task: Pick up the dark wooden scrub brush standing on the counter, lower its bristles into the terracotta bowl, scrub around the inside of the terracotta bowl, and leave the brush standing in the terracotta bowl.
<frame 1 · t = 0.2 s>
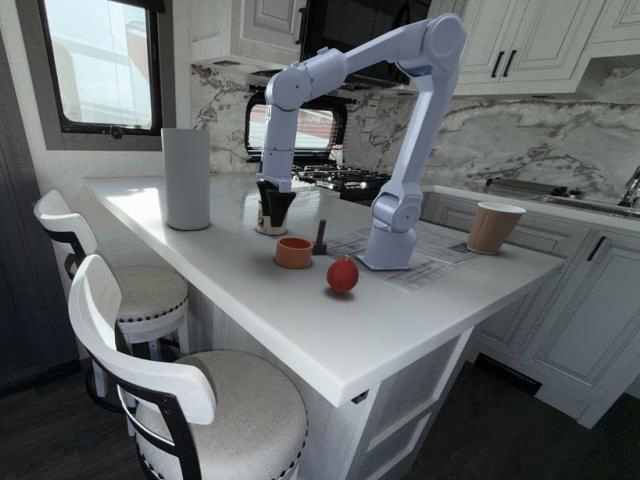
hand: (271, 221, 64), 10 cm above the worktop, tool pointing down, fingers open, 7 cm apart
teacup with lid: (271, 232, 90), on the worktop
cylinder vase: (189, 225, 92), on the worktop
coffee cup: (480, 250, 86), on the worktop
onion: (338, 293, 60), on the worktop
terracotta bowl: (292, 261, 72), on the worktop
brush: (316, 252, 77), on the worktop
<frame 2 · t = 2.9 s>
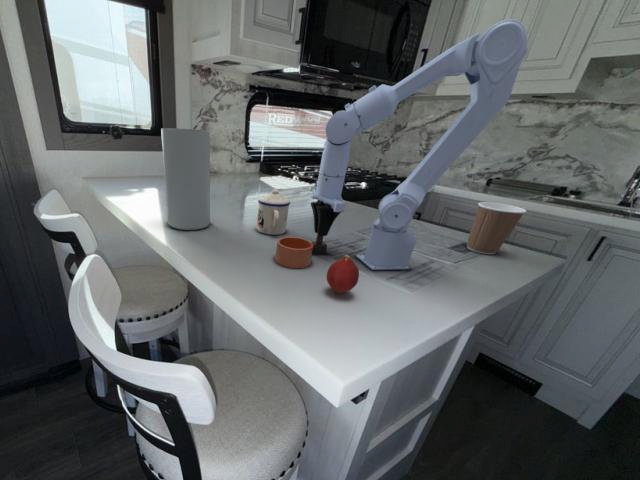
hand: (320, 234, 75), 5 cm above the worktop, tool pointing down, fingers closed on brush, 1 cm apart
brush: (316, 252, 77), on the worktop, touching gripper
everything else where it was.
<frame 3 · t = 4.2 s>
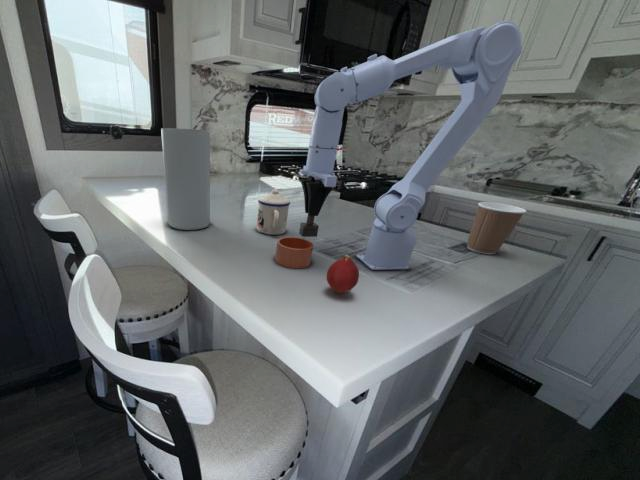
hand: (311, 214, 69), 10 cm above the worktop, tool pointing down, fingers closed on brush
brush: (307, 235, 72), point 6 cm above the worktop, touching gripper
everything else where it was.
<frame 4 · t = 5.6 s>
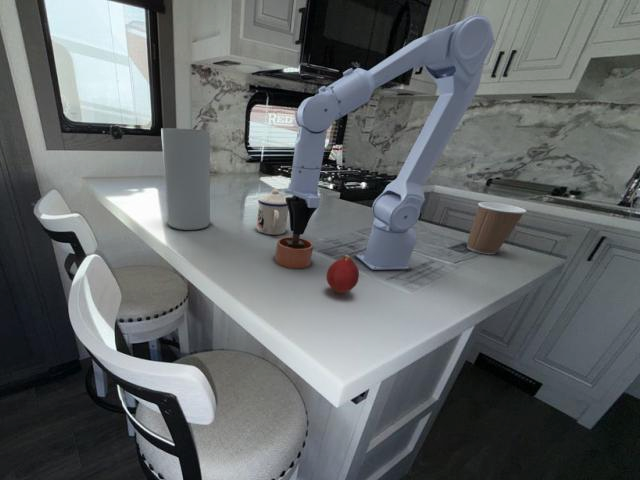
hand: (296, 232, 68), 7 cm above the worktop, tool pointing down, fingers closed on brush, 1 cm apart
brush: (293, 252, 71), point 2 cm above the worktop, touching gripper
everything else where it was.
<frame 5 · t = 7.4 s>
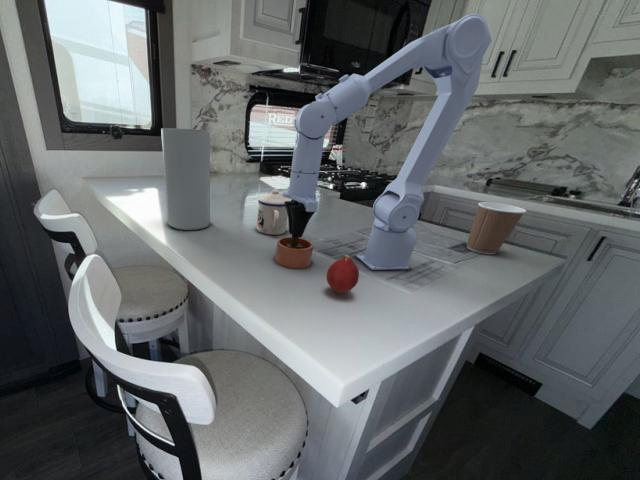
hand: (295, 235, 70), 6 cm above the worktop, tool pointing down, fingers closed on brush, 1 cm apart
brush: (292, 255, 72), point 1 cm above the worktop, touching gripper
everything else where it was.
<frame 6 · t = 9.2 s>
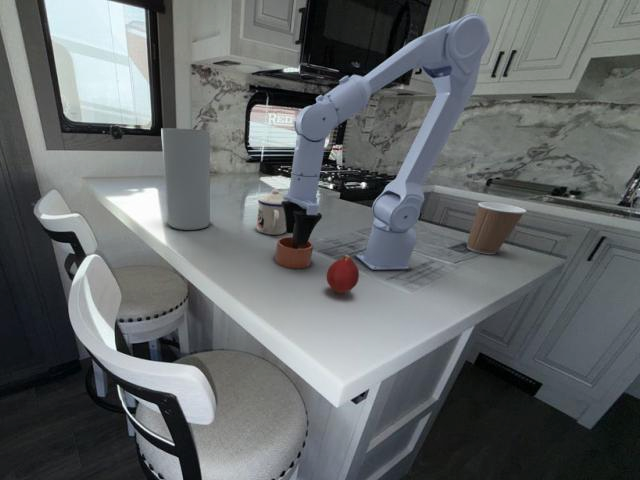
hand: (295, 238, 69), 6 cm above the worktop, tool pointing down, fingers open, 7 cm apart
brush: (292, 259, 72), resting on terracotta bowl
everything else where it was.
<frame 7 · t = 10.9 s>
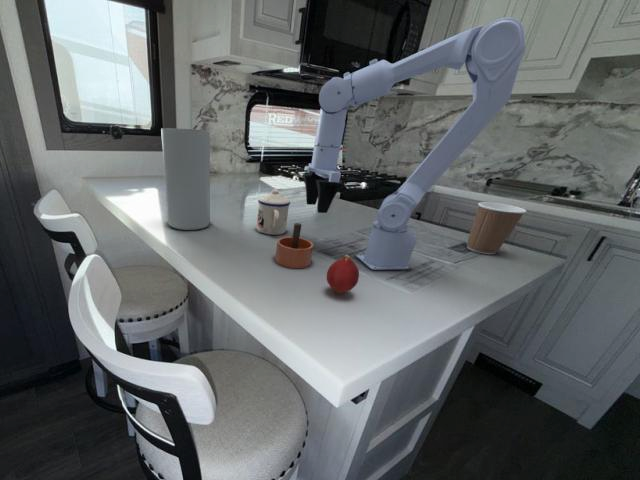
hand: (316, 208, 75), 10 cm above the worktop, tool pointing down, fingers open, 7 cm apart
nothing on the worktop moved.
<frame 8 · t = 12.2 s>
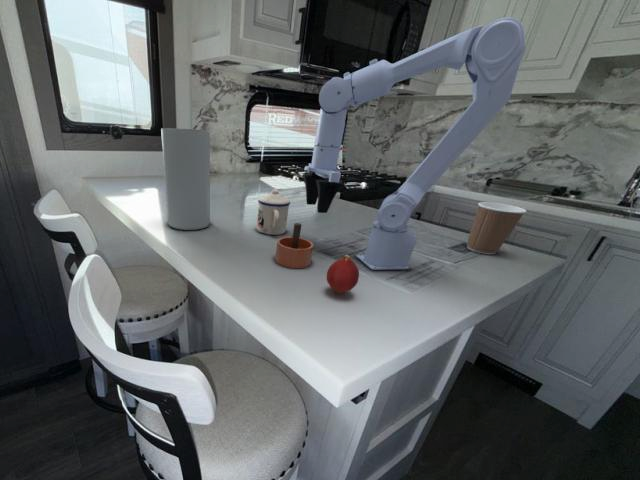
hand: (316, 208, 75), 10 cm above the worktop, tool pointing down, fingers open, 7 cm apart
nothing on the worktop moved.
at the end: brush 0.0 cm off-centre in the terracotta bowl, point 0.5 cm above the terracotta bowl's base; the gripper is holding nothing; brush tilted 0° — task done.
